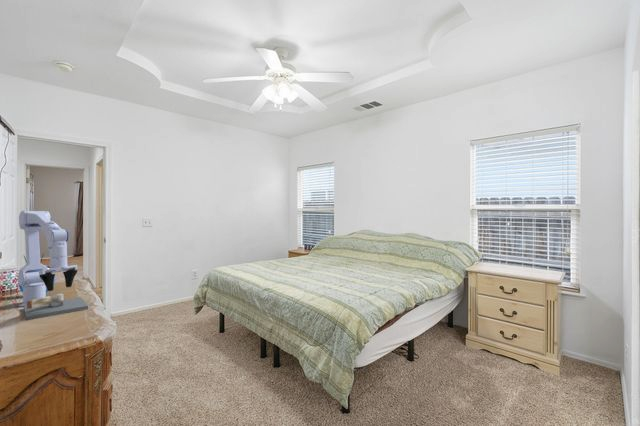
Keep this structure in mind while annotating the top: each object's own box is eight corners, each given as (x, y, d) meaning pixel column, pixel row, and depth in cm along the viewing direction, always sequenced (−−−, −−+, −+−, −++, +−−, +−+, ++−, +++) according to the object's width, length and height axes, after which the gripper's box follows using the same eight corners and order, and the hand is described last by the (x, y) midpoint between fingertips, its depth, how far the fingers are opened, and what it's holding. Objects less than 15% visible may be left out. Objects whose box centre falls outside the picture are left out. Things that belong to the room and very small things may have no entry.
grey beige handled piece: (58, 302, 139) (58, 293, 139) (65, 303, 137) (66, 294, 137) (23, 311, 126) (23, 300, 126) (30, 312, 125) (31, 302, 125)
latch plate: (23, 308, 135) (23, 305, 135) (80, 299, 150) (80, 296, 150) (26, 320, 122) (26, 316, 122) (87, 309, 136) (87, 305, 136)
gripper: (47, 258, 122) (49, 291, 122) (82, 254, 137) (83, 284, 136) (34, 259, 124) (35, 292, 123) (69, 256, 138) (70, 285, 137)
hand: (59, 288), depth 130 cm, fingers open, 7 cm apart
